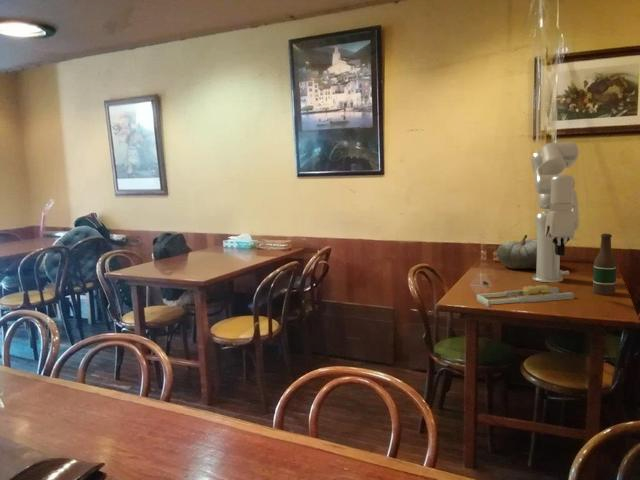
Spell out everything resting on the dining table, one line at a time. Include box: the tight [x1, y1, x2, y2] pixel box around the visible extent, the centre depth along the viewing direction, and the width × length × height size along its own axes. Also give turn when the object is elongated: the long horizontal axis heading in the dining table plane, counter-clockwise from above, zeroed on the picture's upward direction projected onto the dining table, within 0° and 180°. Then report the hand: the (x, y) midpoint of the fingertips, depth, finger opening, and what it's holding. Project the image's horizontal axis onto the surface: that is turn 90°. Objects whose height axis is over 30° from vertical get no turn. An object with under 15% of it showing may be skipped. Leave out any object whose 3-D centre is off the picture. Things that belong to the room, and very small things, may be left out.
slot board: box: [504, 286, 575, 304], centre depth 189 cm, size 22×12×3 cm, turn 98°
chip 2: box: [535, 284, 552, 295], centre depth 189 cm, size 4×4×4 cm
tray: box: [475, 291, 520, 308], centre depth 186 cm, size 12×10×2 cm
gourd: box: [496, 234, 537, 270], centre depth 249 cm, size 25×25×17 cm
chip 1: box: [522, 285, 538, 296], centre depth 188 cm, size 4×4×4 cm
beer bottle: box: [592, 233, 617, 296], centre depth 192 cm, size 8×8×24 cm
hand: (559, 254), depth 188 cm, fingers closed
